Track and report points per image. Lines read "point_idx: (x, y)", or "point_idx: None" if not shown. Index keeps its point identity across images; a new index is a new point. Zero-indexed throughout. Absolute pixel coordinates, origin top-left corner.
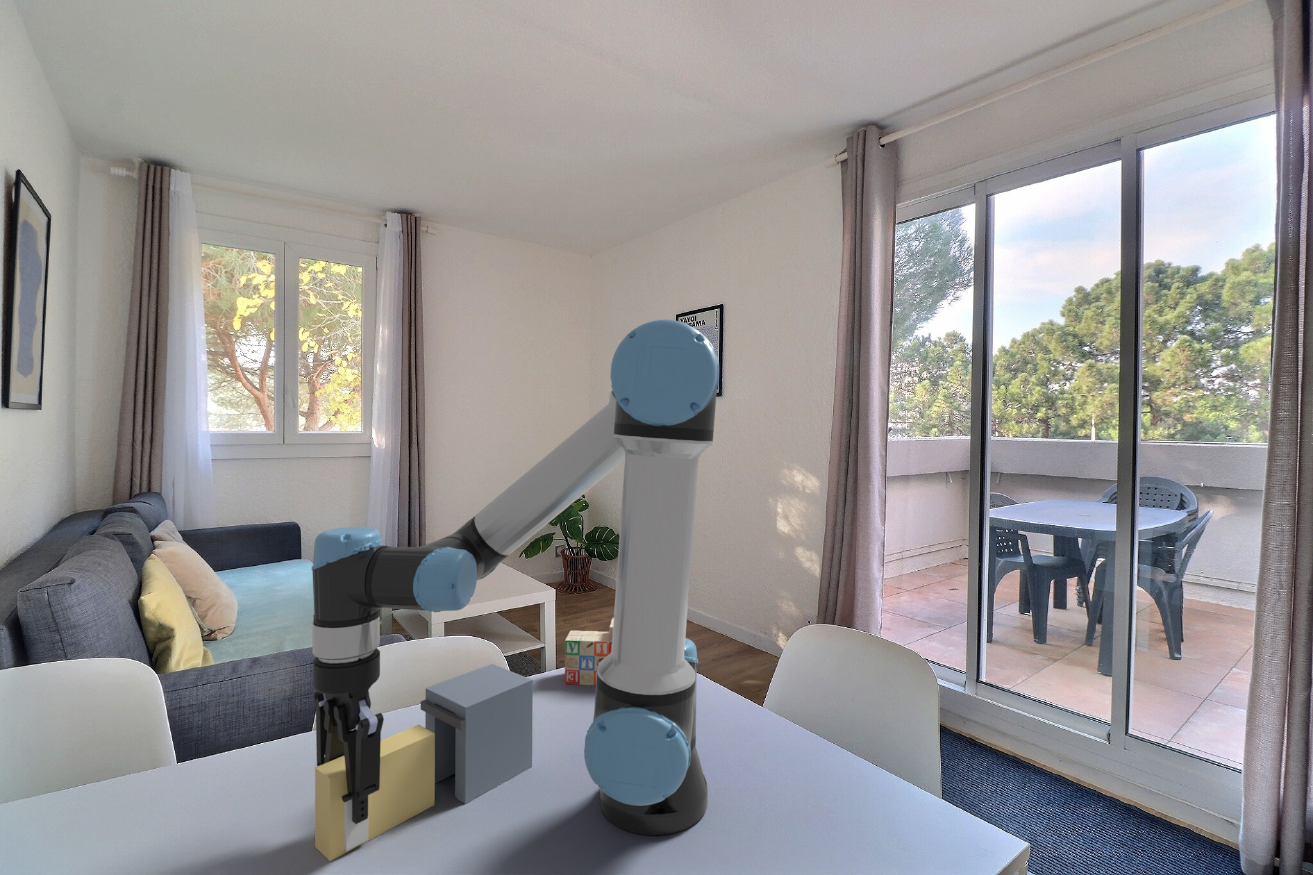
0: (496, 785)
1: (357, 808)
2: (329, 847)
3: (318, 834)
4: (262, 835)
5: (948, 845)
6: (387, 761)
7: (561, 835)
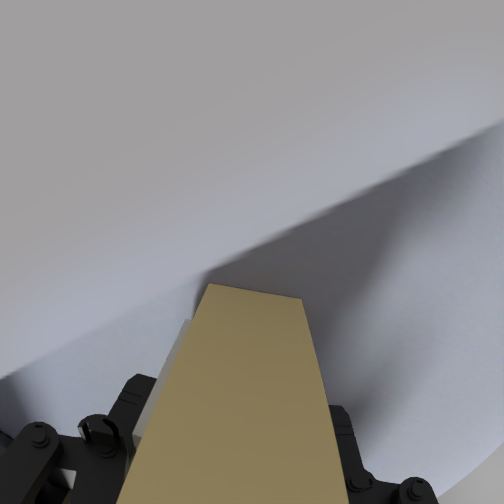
0: None
1: (110, 410)
2: (206, 299)
3: (283, 317)
4: (458, 258)
5: None
6: None
7: (20, 425)
